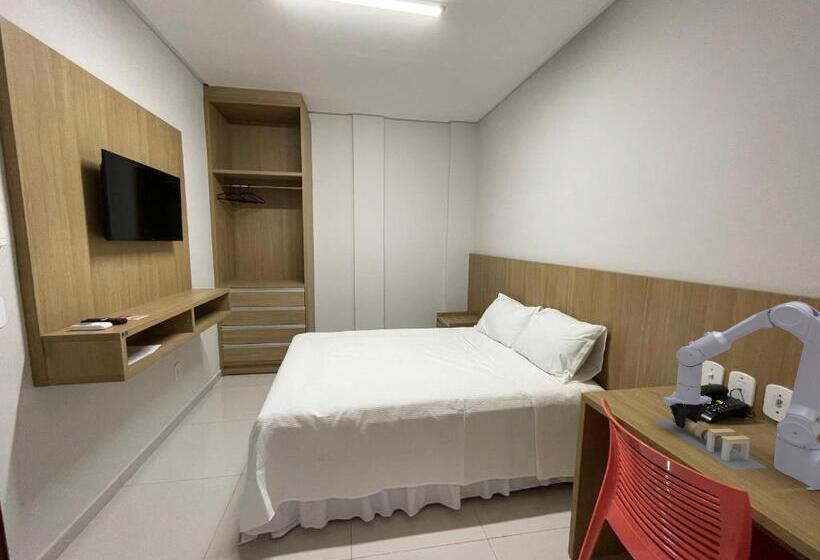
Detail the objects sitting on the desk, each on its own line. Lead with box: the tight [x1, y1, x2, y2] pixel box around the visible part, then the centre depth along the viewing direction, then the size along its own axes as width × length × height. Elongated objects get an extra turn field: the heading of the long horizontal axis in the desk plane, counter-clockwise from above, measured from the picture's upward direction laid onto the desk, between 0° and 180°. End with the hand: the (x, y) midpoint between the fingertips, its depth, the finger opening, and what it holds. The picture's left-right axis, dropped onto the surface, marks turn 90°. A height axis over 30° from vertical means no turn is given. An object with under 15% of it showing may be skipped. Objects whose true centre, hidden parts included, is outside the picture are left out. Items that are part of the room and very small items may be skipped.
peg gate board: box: [652, 419, 768, 471], centre depth 97 cm, size 25×10×7 cm, turn 6°
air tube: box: [671, 415, 723, 449], centre depth 99 cm, size 14×3×3 cm, turn 6°
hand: (685, 426), depth 103 cm, fingers closed on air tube, 3 cm apart
